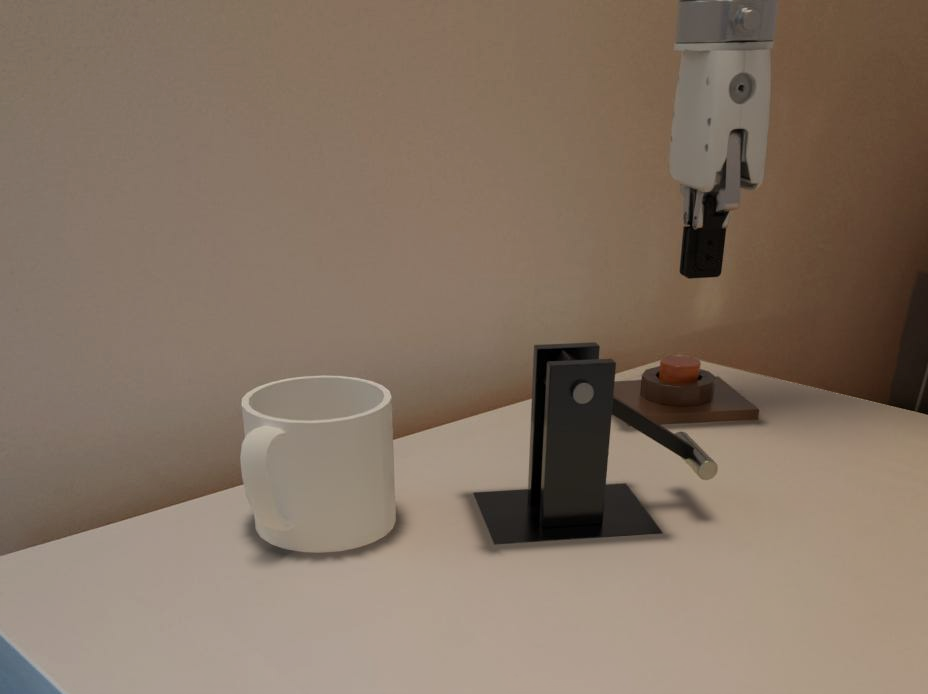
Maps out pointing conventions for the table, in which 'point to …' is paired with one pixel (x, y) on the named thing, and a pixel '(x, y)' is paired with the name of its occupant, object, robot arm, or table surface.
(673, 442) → the lever
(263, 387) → the mug
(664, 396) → the button box
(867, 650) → the table surface
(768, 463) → the table surface
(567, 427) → the bracket
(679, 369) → the button
